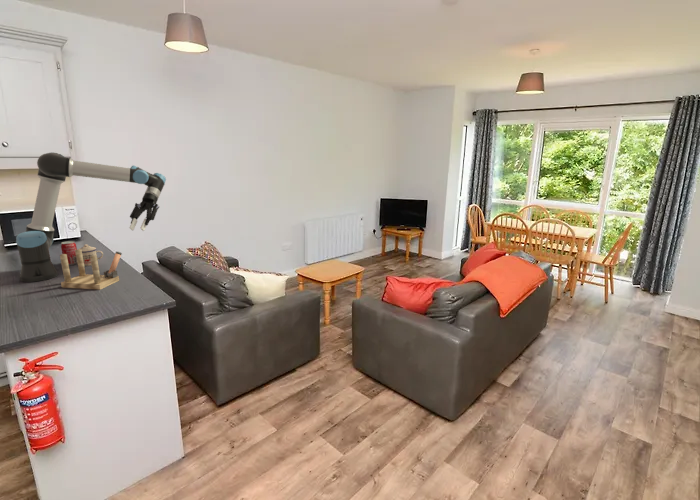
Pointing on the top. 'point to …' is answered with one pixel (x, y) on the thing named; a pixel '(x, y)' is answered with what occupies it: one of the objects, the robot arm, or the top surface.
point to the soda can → (69, 251)
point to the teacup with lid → (89, 254)
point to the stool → (86, 279)
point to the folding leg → (114, 263)
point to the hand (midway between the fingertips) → (136, 229)
